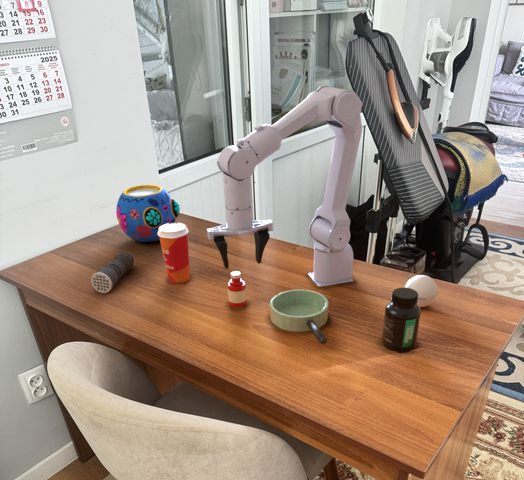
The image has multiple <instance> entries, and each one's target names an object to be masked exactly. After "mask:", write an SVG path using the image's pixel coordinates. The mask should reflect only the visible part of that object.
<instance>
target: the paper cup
mask: <svg viewBox="0 0 524 480" xmlns="http://www.w3.org/2000/svg"><path fill="white" fill-rule="evenodd" d="M189 232H190V231H189V229H188V227H187V225H186V224H185V223H183V222H177V223H176V222H175V223H171V224H169V223H167V224H164V225H162V226H160V227H159V231H158V236H159V238H160V240H159V241H160V246H161V251H162V256H163V260H164V264H165V271H166V275H167V277H168V281H169V282H170V283H173V284H183V283H186V282H188V281H189V280H190V279H191V270H190V253H189V252H190V251H189V237H188V233H189Z"/></svg>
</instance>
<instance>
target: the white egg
mask: <svg viewBox="0 0 524 480" xmlns="http://www.w3.org/2000/svg"><path fill="white" fill-rule="evenodd" d="M404 287H405V288H411V289H414V290H415V291H417V293H418V302H417V304H418V305H419V307H420V308H425V307H428V306H429V305H431V304H433V302H434V301H435V300H436V299H437V297H438V293H439V291H438V285H437V283H436V281H435V280H434V279H433V278H432V277H430V276H429V275H425V274H417V275H414V276H412V277H410V278H409V279H408V281H407V282H406V283H405V284H404ZM440 297H441V298H444V296H442V295H440ZM445 298H446V299H448V298H449V297H447V296H445Z"/></svg>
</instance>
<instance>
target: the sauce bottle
mask: <svg viewBox="0 0 524 480" xmlns="http://www.w3.org/2000/svg"><path fill="white" fill-rule="evenodd" d="M241 277H242V273H241V271H237V270H234V271H232V272H230V278H231V279H229V281H228V282H227V295H228V305H229V306H230V307H231V308H232V307H233V308H242V307H245V306H246V305H247V287H246V282H245V281H244V280H243V279H242V278H241Z"/></svg>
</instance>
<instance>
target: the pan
mask: <svg viewBox="0 0 524 480" xmlns="http://www.w3.org/2000/svg"><path fill="white" fill-rule="evenodd" d="M329 305H330V304H329V300H328V298H326V296H325V295H323V294H322V293H319V292H317V291H314V290H310V289H290V290H285V291H282V292H279V293H278V294H275V295H274V296H272V298H271V300H270V302H269V306H270V307H269V308H270V309H269V311H270V321H271V322H272V324H274V326H276V327H277V328H279V329H281V330H284V331H288V332H295V333H296V332H297V333H301V332H311V330H310V329H309V327H308V326H307V321H308V320H313V321H314V323H315V324H316V325H317V327H318V328H319V329H320V328H321V327H323V326H324V325H325V324H326V323H327V321H328V318H329Z"/></svg>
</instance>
